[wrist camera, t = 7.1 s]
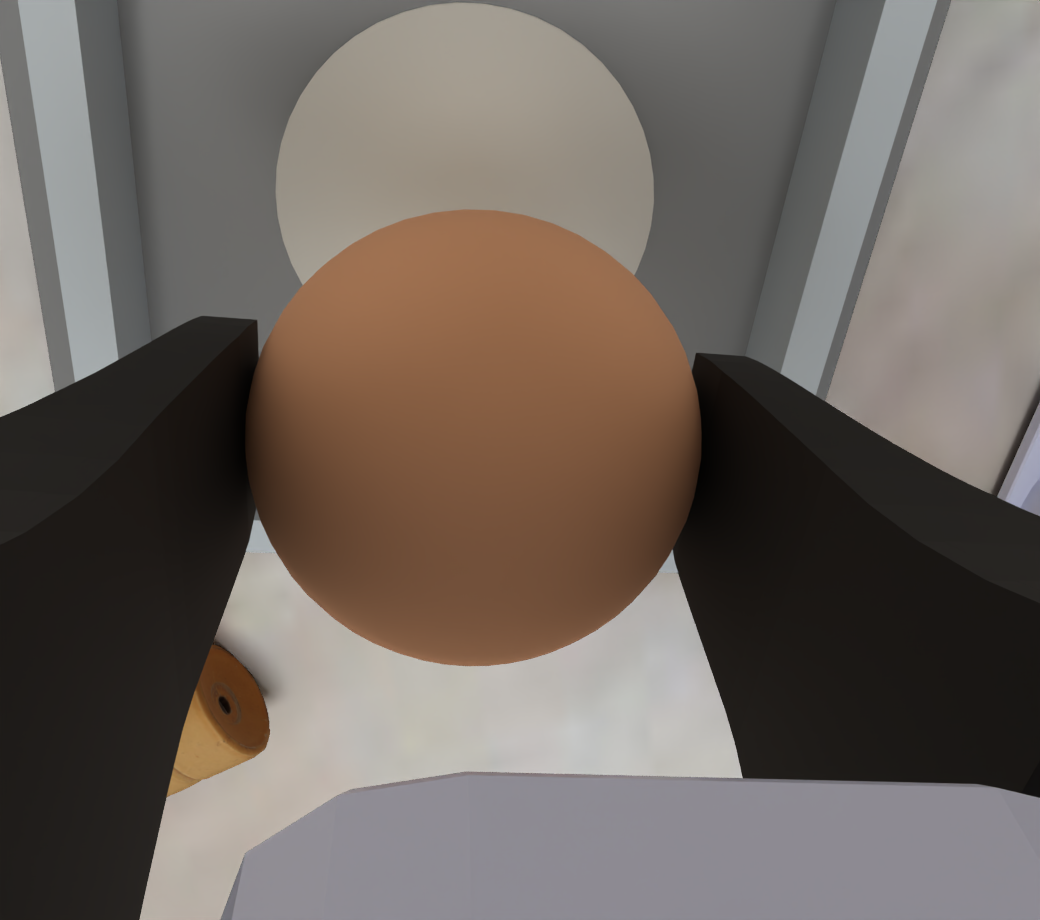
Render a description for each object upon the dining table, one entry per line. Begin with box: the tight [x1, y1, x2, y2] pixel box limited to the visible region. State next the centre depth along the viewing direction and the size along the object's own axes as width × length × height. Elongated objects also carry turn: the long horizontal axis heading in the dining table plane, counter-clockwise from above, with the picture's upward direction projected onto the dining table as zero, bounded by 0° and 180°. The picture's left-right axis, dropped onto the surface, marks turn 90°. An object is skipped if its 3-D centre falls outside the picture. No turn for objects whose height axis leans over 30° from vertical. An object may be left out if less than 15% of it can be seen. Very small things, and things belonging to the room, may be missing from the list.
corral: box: [0, 0, 951, 573], centre depth 17 cm, size 16×16×2 cm
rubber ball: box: [245, 209, 702, 666], centre depth 11 cm, size 5×5×5 cm
